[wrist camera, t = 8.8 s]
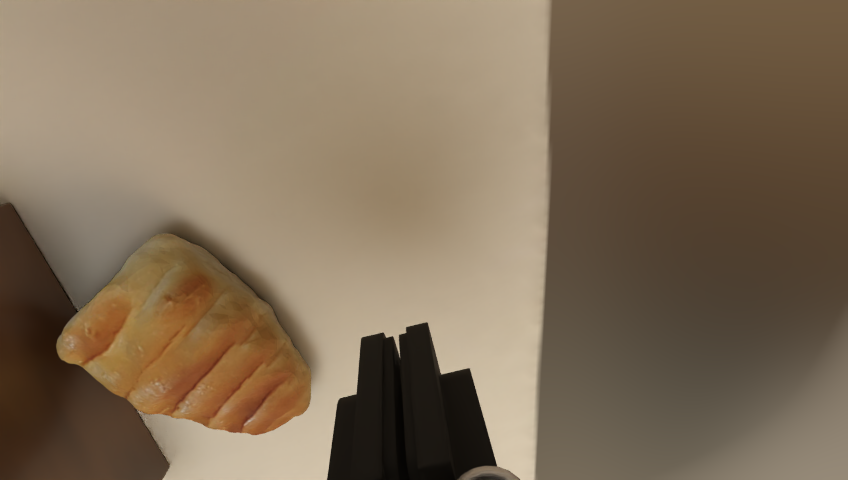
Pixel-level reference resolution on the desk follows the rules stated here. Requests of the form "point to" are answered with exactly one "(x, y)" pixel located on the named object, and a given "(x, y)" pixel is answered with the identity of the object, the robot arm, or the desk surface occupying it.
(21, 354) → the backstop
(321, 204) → the desk surface
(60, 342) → the pastry
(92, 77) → the desk surface
